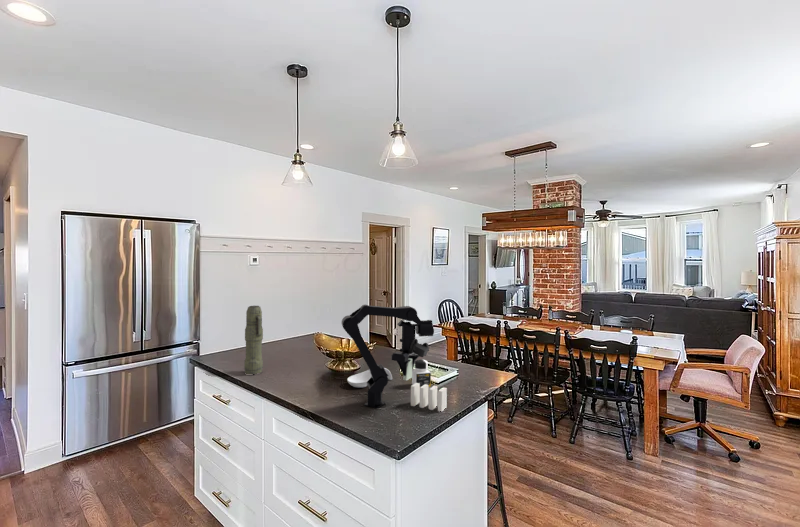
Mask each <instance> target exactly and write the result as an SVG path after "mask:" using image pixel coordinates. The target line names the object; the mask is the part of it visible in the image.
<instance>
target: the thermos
mask: <svg viewBox="0 0 800 527" xmlns="http://www.w3.org/2000/svg"><path fill="white" fill-rule="evenodd" d="M245 314H246V316H245V317H246V321H245V322H246V323H245V324H246V326H245V329H244V340H245V358H244V366H243V367H244V374H245V373H246V374H257V373H261V372H262V373H263V367H264V364H263V363H264V362H263V355H262V353H263V350H262V349H263V344H262V343H263V339H264V338H263V336H264V334H263V333H264V328H263V318H262V317H263V316H262V315H263V311H262V308H261V306H260V305H250V306H247V310H246V313H245ZM262 373H261V374H262Z"/></svg>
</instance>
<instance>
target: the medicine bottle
mask: <svg viewBox="0 0 800 527" xmlns="http://www.w3.org/2000/svg"><path fill="white" fill-rule="evenodd" d="M428 364H429V362H428V360H426V359H416V361H415V364H414V368H413V370H412V378H411V380H412V381H411V385H413V384H415V383H420V387H421V386H423V385H425V384H427V385H428V388H431V387H432V386H431V385H432V384H431V382H432V381H431V379H432V378H431V376H432V373H431V371H430V370H428V369H429V366H428Z"/></svg>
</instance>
